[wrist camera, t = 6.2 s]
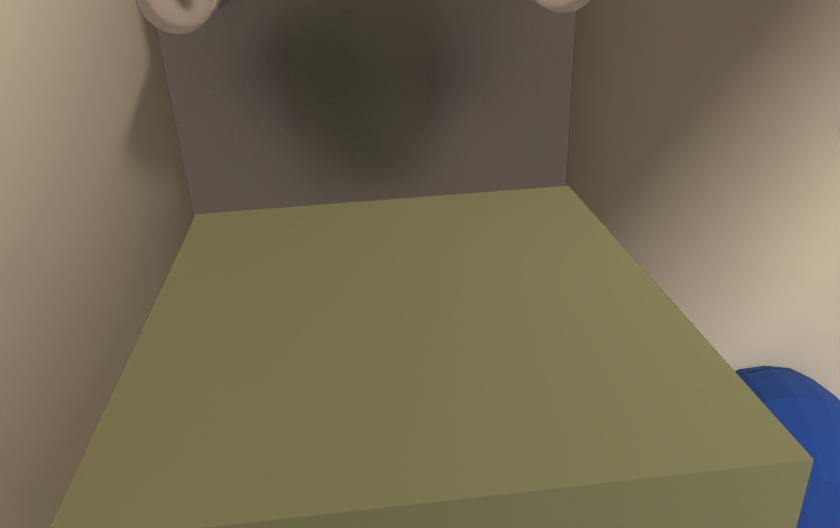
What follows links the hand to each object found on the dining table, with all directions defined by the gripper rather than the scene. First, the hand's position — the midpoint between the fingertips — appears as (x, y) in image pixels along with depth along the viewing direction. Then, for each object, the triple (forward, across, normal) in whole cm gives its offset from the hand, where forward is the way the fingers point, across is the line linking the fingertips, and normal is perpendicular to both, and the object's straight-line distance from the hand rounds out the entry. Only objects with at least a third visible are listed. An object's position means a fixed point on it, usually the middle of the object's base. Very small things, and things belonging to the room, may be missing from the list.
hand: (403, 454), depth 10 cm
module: (0, 0, 0) cm, 0 cm away
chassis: (+11, 0, -1) cm, 11 cm away
